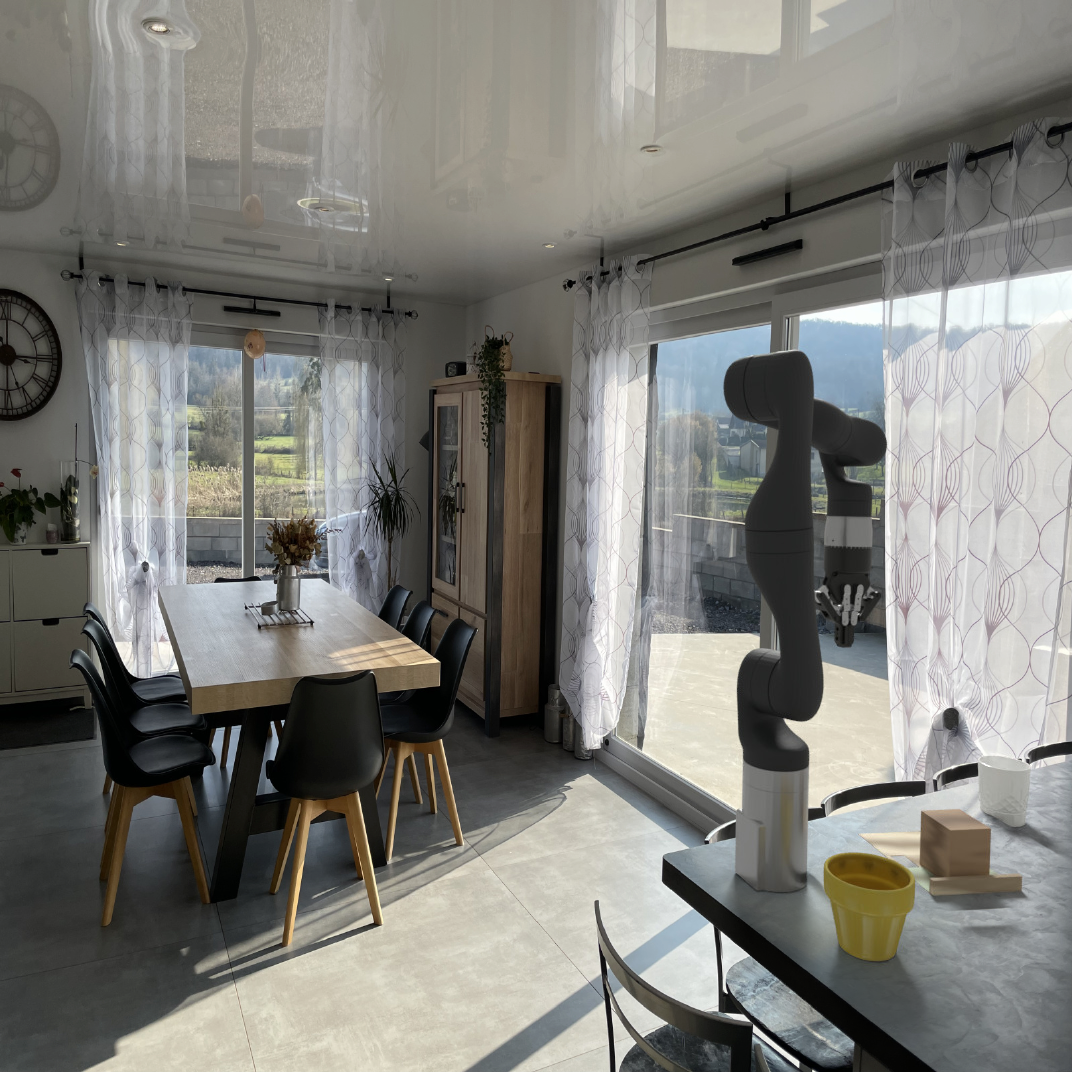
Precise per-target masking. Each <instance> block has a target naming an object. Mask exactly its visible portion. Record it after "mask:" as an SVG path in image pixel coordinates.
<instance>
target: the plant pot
mask: <svg viewBox="0 0 1072 1072" xmlns="http://www.w3.org/2000/svg"><path fill="white" fill-rule="evenodd" d="M896 861H897V860H896ZM896 861H893V860H891V859H888V858H887V857H886V856H882V855H877V854H873V853H866V852H857V851H856V852H841V853H837V854H834V855H831V856H829V857H827V859H826V860H825V861H824V864H823V891H824V893H825V895H826V897H827V898H828V900H829V902H830V906H831V910H832V916H833V921H834V925H835V931H836V936H837V941H838V944H839V946H840V948H841V949H842V950H843V951H844V952H845V953H847V954H848V955H850V956H852V957H854V958H856V959H860V960H863V961H866V962H867V961H869V962H884V961H888V960H891V959H892V958H894V956H895V955H896V954H897V951H898V947H899V945H900V941H901V940H900V939H901V936H902V933H903V929H904V925H905V921H906V919H907V915H908V914H909V913H910V912H911V911H912V910H913V908H914V905H915V898H916V881H915V878H914V875H913V874H912V873H911V871H910V870H909V869H907V868H908V867H906V866H904V865H903V864H902V863H900V862H899V861H897V862H896Z"/></svg>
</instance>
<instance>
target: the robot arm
mask: <svg viewBox="0 0 1072 1072" xmlns="http://www.w3.org/2000/svg"><path fill="white" fill-rule="evenodd" d="M814 384H815V383H814V372H813V368H812V365H811V362H810V359H809V357H808V356H807V354H806V353H805V352H804V351H802V350H799V349H790V350H781V351H775V352H768V353H761V354H753V355H748V356H744V357H741V358H738V359H736V360H734V361H733V362H732V363H731V364H730V365H729V366H728V368H727V370H726V371H725V376H724V379H723V386H722V387H723V396H724V401H725V404H726V406H727V408H728V410H729V412H730V413H732V414H733V416H735V417H736V418H737V419H739V420H742V421H745V422H748V423H753V424H757V425H761V426H763V427H764V426H765V427H767V428H770V429H774V430H777V431H778V432H777V438H776V439H777V440H776V447H775V452H774V455H773V458H772V461H771V463H770V467H769V468H768V470H767V472H766V473H765V475H764V477H763V479H762V480H761V482H760V484H759V485H758V488H757V489H756V491H755V493H754V495H753V496H752V498H751V500H750V503H748V506H747V509H746V513H745V516H744V541H745V543H744V544H745V559H746V564H747V565H746V566H747V567H748V570H749V572H750V575H751V577H752V579H753V581H754V583H755V585H756V587H757V588H758V591H759V592H760V593H761V595H762V597H763V599H764V600H765V601H764V602H766V604H767V607H769V610H770V612H771V614H772V616H773V619H774V622H775V625H776V630H777V634H778V643H779V650H775V649H771V648H763V647H760V648H754V649H752V650H750V651H749V652H747V654H745V656H744V658H743V659H742V661H741V664H740V665H739V669H738V673H737V678H736V706H737V707H736V708H737V733H738V740H739V743H740V746H741V748H742V749H741V750H742V783H741V786H742V787H741V788H742V789H741V791H742V792H741V808H738V809H736V811H735V845H734V846H735V849H734V850H735V851H734V852H735V861H734V864H735V865H734V873H735V874H737V875H738V876H740V878H741V879H742V880H744V881H745V882H746V883H748V885H749V886H751V887H752V888H753V889H754V890H755V891H769V892H775V893H793V892H796V891H800V890H801V889H803V888H804V887H805V886H806V885H807V883H808V842H809V841H808V838H809V837H808V835H809V833H808V832H809V831H808V830H809V787H810V786H809V784H810V780H809V779H810V748H809V746H808V744H807V743H806V741H805V740H804V739H802V738H801V737H800V736H799V735H798V734H796V733H795V732H794V731H793V730H792V729H791V728H790V727H789V726H788V724H787V723H786V721H785V720H789V721H791V722H792V721H793V722H802V723H803V722H808V721H810V720H812V719H813V718H814V717H815V716H816V715H817V713H818V711H819V710H820V707H821V704H822V702H823V701H822V700H823V695H824V687H825V685H824V680H825V679H824V678H825V677H824V667H823V666H824V665H823V658H822V657H823V656H822V652H821V644H820V643H821V642H820V635H819V630H818V629H819V627H818V620H817V609H818V611H819V612H820V614H821V615H822V616H823V618H824V619H825V620H826V621H829V622H832V623H833V624H834V637H833V639H834V644H836V646H837V647H838V648H844V649H846V648H847V649H848V648H849V649H850V648H852V646H853V644H854V642H855V628H856V627H855V626H856V625H857V624H858V623H860V622H863V623H864V622H865V621H866V620H867V618H868V617H869V616H870V614H871V613H872V611H873V609H874V608H875V607H876V605H877V604H878V603H879V602H880V599H882V593H881V592H879V591H876V590H875V589H874V588H873V587H872V586H871V579H870V577H869V574H870V573H871V572H872V562H873V561H872V558H873V556H872V555H873V532H874V531H873V530H874V529H873V524H872V523H873V522H872V513H873V512H872V511H873V487H872V486H871V484H870V483H868V482H865V481H861V480H855V479H851V478H850V477H849V476H848V475H847V473H846V470H845V468H846V467H848V468H850V467H851V468H852V467H853V468H854V467H857V468H858V467H871V466H875V465H876V464H878V463H880V462H881V461H882V460H883V458H884V457H885V456H886V453H887V449H888V441H887V437H886V433H885V432H884V430H883V429H882V428H881V427H880V425H878V424H877V423H875V422H873V421H871V420H868V419H866V418H861V417H857V416H855V415H849V414H847V413H846V412H844V411H843V410H842V409H840V408H839V407H838V406H837V405H835V404H833V403H831V402H829V401H826V400H824V399H820V398H818V397H815V385H814ZM812 448H814V449H815V450H817V451H818V456H819V460H820V463H821V467H822V471H823V475H824V480H825V486H826V492H827V500H826V520H825V524H824V525H825V526H824V541H823V542H824V543H823V544H824V545H823V563H822V564H823V566H822V568H823V571H824V573H825V574H824V577H823V579H822V585H821V586H820V587H819V588H818V589H817V590H816V589H815V587H816V586H815V541H814V540H815V537H814V536H815V534H814V517H813V516H814V515H813V499H812V467H811V466H812ZM829 599H830V600H829ZM816 608H817V609H816Z"/></svg>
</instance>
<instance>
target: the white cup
mask: <svg viewBox="0 0 1072 1072" xmlns="http://www.w3.org/2000/svg"><path fill="white" fill-rule="evenodd" d="M977 769H978V774H977V775H978V777H977V778H978V779H977V780H978V783H977V784H978V795H979V797H978V798H979V799H978V800H979V802H980V803H979V805H980V806H979V808H980V811H982V812H983V813H985V814H987V815H989V816H992V817H994V818H996V819H997V820H999V821H1001V822H1002V823H1004V824H1006V825H1007V826H1009V827H1011V828H1021V827H1023V826H1024V825H1026V820H1027V818H1026V817H1027V809H1028V805H1029V795H1030V785H1031V784H1030V783H1031V772H1032V766H1031V764H1030V763H1027V762H1026V761H1023V760H1020V759H1017V758H1013V757H1009V756H1002V755H1001V756H1000V755H982V756H980V757H978V759H977Z"/></svg>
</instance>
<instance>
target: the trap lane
mask: <svg viewBox="0 0 1072 1072" xmlns="http://www.w3.org/2000/svg"><path fill="white" fill-rule="evenodd" d="M920 831H921V830H919V831H916V830H915V831H894V832H875V833H874V832H871V833H858V835H859V836H860V837H861V838H863V839H864V841H866V842H867V843H869V844H870V845H871V846H872V847H874V848H875V850H877V851H878V852H879V853H881V854H882V855H883V857H885V858H888V859H891V860H893V861H896V862H898V861H897V860H896V859H895V858H893V857H901V856H903V857H905V858H907V859H908V860H909V861H911V862H912V863H913V864H914V865H915V866H917V867H906V868H907V869H909V870H910V871H911V873H912V874H913V875H914V878H915V883H916V884H918V885H919V886H920V887H922V889H924V890H925V891H926V892H928V893H929V894H930V895H932V896H934V897H935V896H948V895H949V896H951V895H966V894H970V895H971V894H985V893H986V894H987V893H1004V892H1007V893H1010V892H1022V891H1023V887H1022V886H1023V876H1022V875H1021V874H1020V873H1006V874H1003V873H1002V874H1001V873H1000V874H999V873H997V872H996V871H994V870H993V869H991V868H990V875H981V876H961V877H940V878H937V877H936V876H934V875H933V874H932V873H931V872H929V871H928V870H927V869H925V868H924V867H923V866H922V865H920Z"/></svg>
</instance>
